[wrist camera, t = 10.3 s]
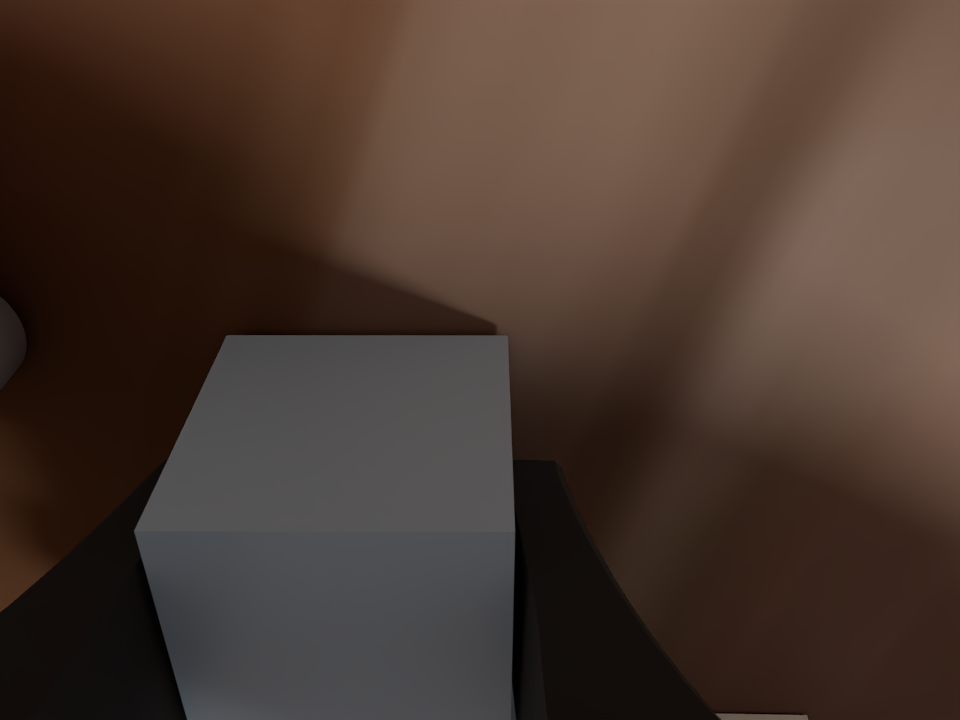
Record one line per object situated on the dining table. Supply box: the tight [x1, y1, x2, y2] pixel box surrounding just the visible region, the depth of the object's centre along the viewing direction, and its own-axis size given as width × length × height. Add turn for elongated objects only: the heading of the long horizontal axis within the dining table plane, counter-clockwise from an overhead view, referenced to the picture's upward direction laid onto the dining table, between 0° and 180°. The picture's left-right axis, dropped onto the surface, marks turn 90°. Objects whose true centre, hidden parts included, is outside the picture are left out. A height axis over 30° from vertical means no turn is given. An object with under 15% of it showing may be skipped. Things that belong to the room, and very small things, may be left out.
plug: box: [134, 335, 516, 720], centre depth 13 cm, size 5×7×4 cm
